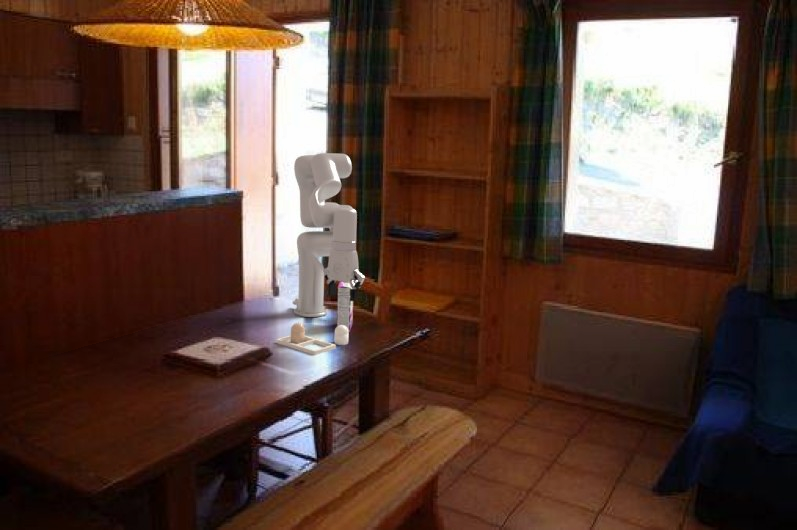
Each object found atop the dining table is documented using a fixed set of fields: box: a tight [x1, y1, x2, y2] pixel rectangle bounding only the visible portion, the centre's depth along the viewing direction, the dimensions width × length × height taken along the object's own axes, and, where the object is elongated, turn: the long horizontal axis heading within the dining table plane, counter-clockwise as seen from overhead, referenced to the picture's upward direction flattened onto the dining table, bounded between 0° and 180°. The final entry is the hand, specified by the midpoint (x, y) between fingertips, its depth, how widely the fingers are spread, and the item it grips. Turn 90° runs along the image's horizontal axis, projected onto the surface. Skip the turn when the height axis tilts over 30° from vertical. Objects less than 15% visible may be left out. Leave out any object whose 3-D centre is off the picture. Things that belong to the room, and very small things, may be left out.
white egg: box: [333, 325, 350, 346], centre depth 238 cm, size 5×5×7 cm
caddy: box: [275, 334, 337, 356], centre depth 234 cm, size 18×10×2 cm, turn 52°
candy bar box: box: [336, 282, 354, 333], centre depth 257 cm, size 11×5×16 cm, turn 179°
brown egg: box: [289, 322, 306, 344], centre depth 236 cm, size 5×5×7 cm
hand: (343, 297), depth 235 cm, fingers open, 9 cm apart
